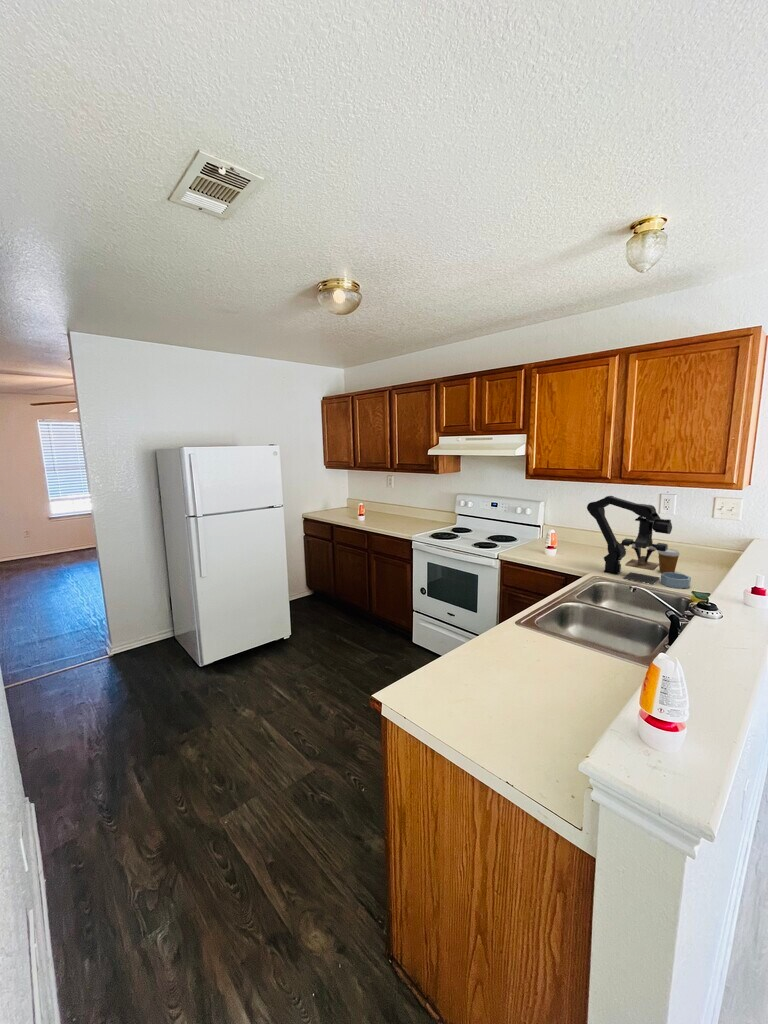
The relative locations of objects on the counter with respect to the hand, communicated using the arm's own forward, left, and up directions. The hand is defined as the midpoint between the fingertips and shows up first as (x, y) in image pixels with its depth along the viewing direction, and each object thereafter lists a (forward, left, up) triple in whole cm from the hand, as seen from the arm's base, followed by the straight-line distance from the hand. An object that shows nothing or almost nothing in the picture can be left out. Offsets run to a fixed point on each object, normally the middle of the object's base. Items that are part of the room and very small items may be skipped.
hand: (642, 561), depth 207 cm
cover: (0, 0, -2) cm, 2 cm away
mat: (0, 0, -9) cm, 9 cm away
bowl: (+14, 0, -9) cm, 17 cm away
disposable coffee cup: (+7, +20, -9) cm, 23 cm away
